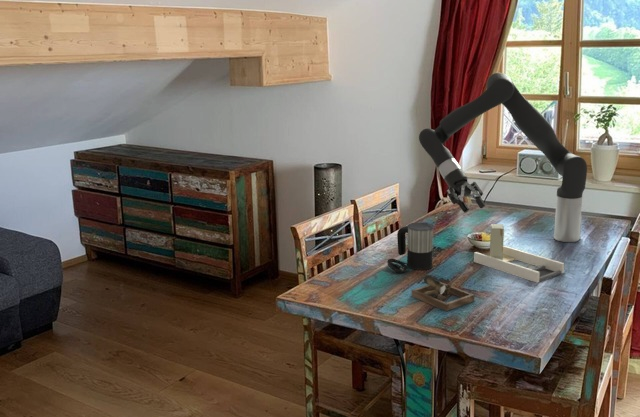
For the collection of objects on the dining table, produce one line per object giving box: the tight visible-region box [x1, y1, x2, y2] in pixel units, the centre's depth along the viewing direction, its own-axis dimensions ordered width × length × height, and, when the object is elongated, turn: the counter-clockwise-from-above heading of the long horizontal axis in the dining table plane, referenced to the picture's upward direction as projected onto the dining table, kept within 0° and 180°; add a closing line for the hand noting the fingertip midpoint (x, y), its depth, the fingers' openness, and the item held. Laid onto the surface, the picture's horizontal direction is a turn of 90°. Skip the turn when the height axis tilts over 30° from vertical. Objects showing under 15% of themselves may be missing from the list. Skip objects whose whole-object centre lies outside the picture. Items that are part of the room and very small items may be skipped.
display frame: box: [411, 281, 475, 312], centre depth 210 cm, size 12×15×2 cm
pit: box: [532, 265, 562, 283], centre depth 227 cm, size 11×7×1 cm, turn 125°
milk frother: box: [386, 221, 435, 273], centre depth 236 cm, size 14×16×15 cm
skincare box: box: [489, 223, 505, 260], centre depth 241 cm, size 6×4×12 cm
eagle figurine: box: [423, 274, 453, 300], centre depth 210 cm, size 8×7×9 cm
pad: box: [503, 255, 515, 263], centre depth 242 cm, size 11×8×1 cm
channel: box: [473, 244, 565, 283], centre depth 235 cm, size 14×27×4 cm, turn 35°
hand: (475, 209), depth 247 cm, fingers open, 8 cm apart
